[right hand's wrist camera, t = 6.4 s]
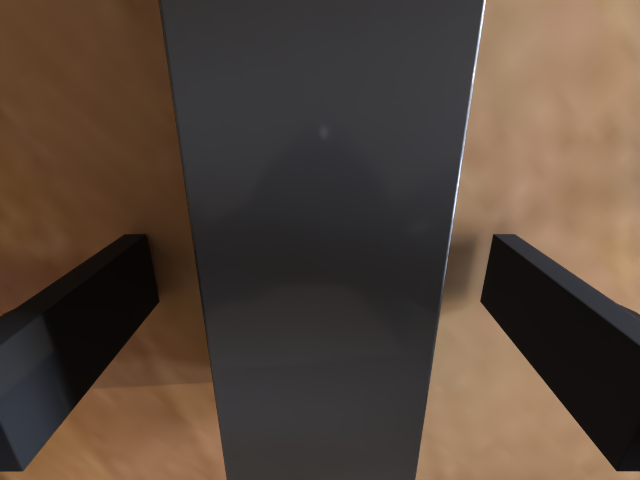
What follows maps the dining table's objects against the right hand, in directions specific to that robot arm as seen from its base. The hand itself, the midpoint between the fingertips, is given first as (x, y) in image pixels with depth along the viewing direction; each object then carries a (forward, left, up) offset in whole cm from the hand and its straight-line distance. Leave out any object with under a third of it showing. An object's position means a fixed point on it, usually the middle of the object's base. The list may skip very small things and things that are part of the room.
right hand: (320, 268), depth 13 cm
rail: (0, -13, 0) cm, 13 cm away
